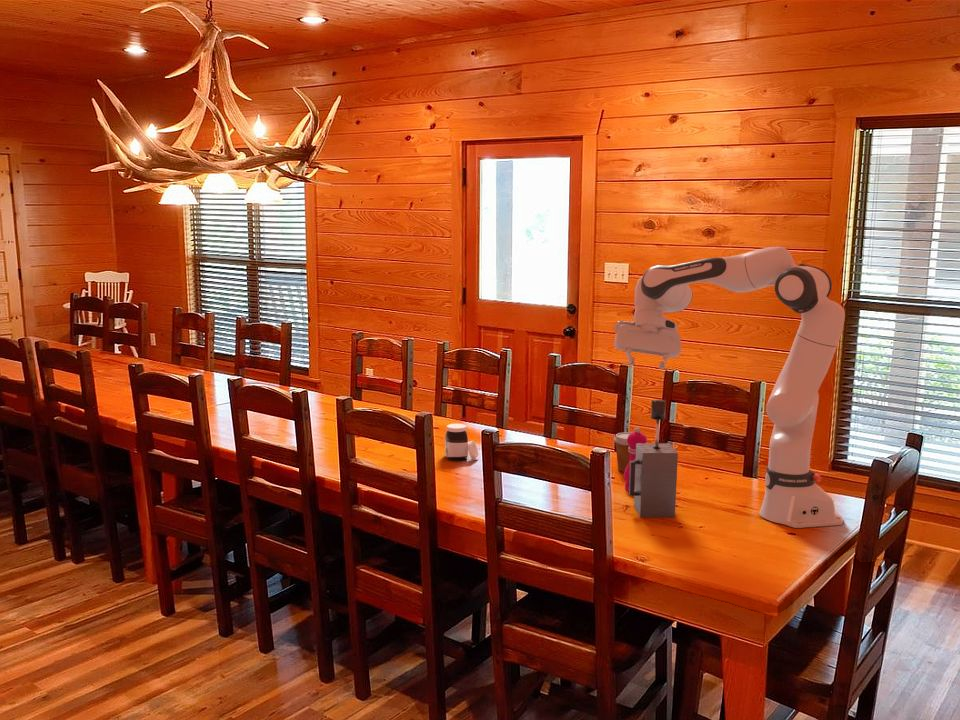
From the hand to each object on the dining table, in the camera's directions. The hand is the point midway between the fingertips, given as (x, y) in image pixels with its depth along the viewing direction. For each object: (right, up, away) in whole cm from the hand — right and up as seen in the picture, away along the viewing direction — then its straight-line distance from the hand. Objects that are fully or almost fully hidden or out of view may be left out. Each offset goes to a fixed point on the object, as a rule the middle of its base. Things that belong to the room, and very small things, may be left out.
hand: (646, 366), depth 263 cm
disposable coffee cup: (-1, -35, +32) cm, 48 cm away
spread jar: (-57, -33, +44) cm, 79 cm away
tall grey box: (-1, -42, -8) cm, 43 cm away
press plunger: (+1, -27, -10) cm, 29 cm away
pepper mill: (-1, -39, +12) cm, 41 cm away
